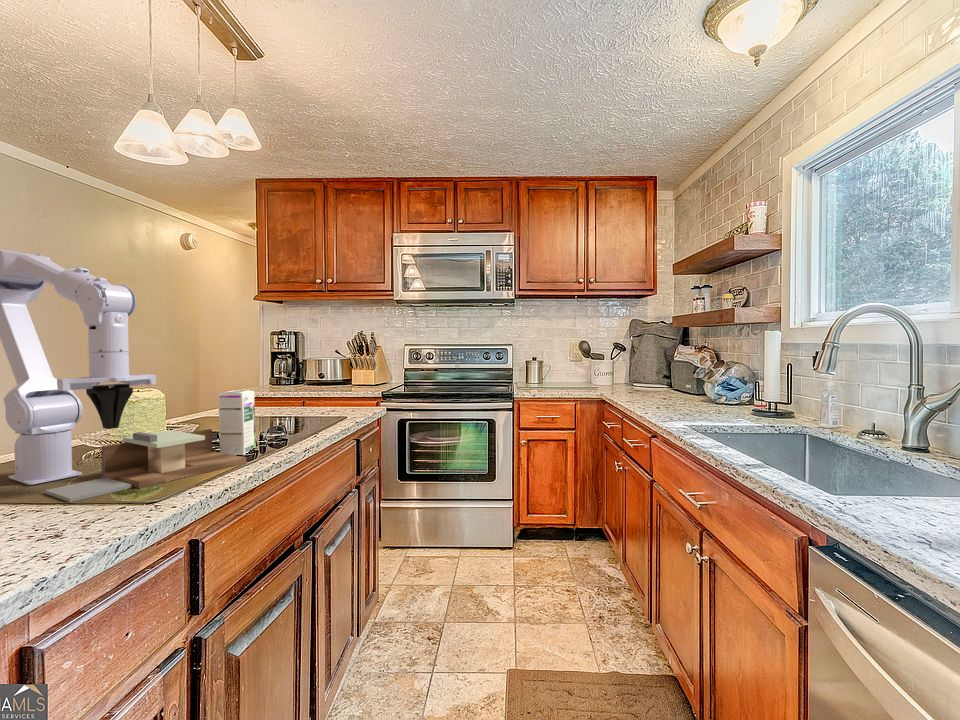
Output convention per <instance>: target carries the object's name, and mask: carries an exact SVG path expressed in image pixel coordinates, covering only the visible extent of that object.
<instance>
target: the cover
mask: <svg viewBox="0 0 960 720" xmlns="http://www.w3.org/2000/svg"><path fill="white" fill-rule="evenodd" d="M200 440H205V436H203V435H197V434H191V433H188V432H184V431H177V430H173V429H172V430H170V429H169V430H162V431H155V432H150V433H147V432H142V431H138V432H132V435H130V436H124V437H122V443H124V442H128V443H133V444H138V445H143V446H149V447H154V448H161V447H166V446H172V445H178V444H183V443H189V442H195V441H200Z"/></svg>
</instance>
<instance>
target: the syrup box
mask: <svg viewBox="0 0 960 720" xmlns="http://www.w3.org/2000/svg"><path fill="white" fill-rule="evenodd" d="M217 397H218V399H217V400H218V401H217V402H218V403H217V404H218V405H217V406H218V428H219V429H218V431H219V432H218V433H219V453H225V454H230V455H245V454H246V453H248V452H249V451H250V450H252V449H253V448H256V449H257V442H256V439H257V438H256V437H257V436H256V417H255V416H256V411H255V409H256V408H255V407H256V405H255V390H250V389H249V390H248V389H235V390H230V391H224V392H219V393H218V394H217ZM248 454H249V453H248ZM246 455H247V454H246ZM246 455H245V456H246Z"/></svg>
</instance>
